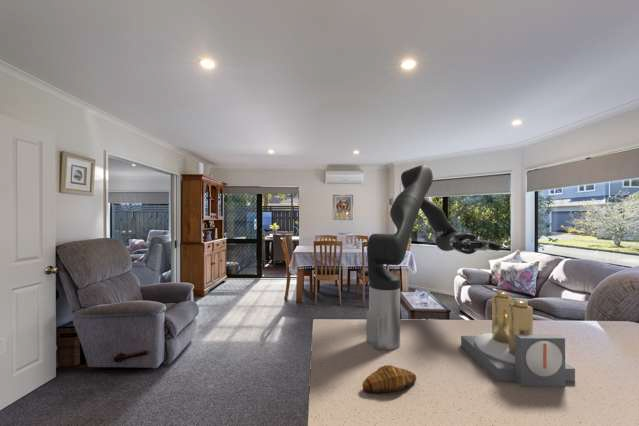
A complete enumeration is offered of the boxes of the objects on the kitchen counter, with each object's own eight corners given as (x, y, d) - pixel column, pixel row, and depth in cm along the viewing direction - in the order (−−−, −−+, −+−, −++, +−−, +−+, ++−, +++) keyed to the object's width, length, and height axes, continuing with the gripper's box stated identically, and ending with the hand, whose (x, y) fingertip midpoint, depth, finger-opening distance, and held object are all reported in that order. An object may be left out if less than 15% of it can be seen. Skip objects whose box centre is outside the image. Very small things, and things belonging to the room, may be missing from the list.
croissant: (370, 402, 60) (370, 379, 60) (356, 384, 67) (356, 362, 67) (424, 390, 64) (424, 368, 64) (406, 374, 71) (406, 354, 71)
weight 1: (505, 345, 77) (505, 296, 77) (488, 337, 82) (488, 291, 82) (517, 341, 79) (517, 293, 80) (499, 334, 84) (499, 289, 84)
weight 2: (525, 360, 69) (524, 305, 69) (504, 351, 74) (504, 300, 74) (537, 356, 71) (537, 303, 71) (516, 347, 76) (516, 297, 76)
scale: (505, 387, 65) (505, 339, 65) (461, 345, 86) (461, 309, 86) (585, 388, 65) (585, 339, 65) (521, 346, 85) (521, 309, 85)
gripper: (444, 232, 109) (460, 235, 92) (483, 233, 107) (507, 235, 91) (443, 252, 108) (460, 258, 92) (483, 253, 107) (507, 259, 91)
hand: (484, 247), depth 92 cm, fingers open, 8 cm apart
